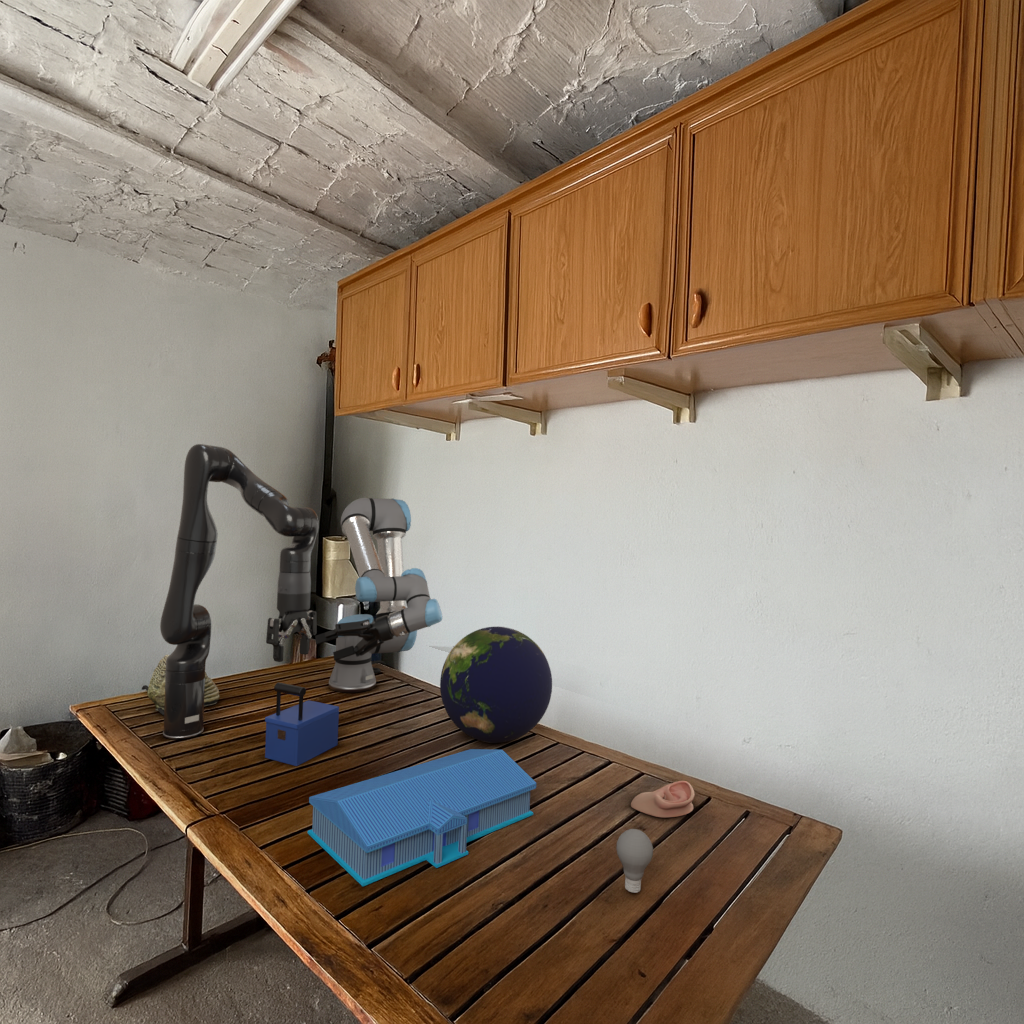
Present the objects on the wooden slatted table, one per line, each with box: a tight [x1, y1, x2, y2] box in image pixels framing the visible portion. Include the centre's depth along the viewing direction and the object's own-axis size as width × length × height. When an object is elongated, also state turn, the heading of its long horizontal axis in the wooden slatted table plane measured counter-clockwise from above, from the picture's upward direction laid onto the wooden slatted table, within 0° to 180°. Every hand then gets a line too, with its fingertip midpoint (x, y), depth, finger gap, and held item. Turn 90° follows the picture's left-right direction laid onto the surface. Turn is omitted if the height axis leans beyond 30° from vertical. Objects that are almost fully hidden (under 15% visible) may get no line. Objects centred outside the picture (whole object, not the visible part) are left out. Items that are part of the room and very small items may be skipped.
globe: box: [439, 625, 553, 744], centre depth 169 cm, size 30×30×30 cm
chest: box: [264, 710, 340, 767], centre depth 157 cm, size 15×10×9 cm
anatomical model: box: [630, 780, 695, 818], centre depth 136 cm, size 13×4×12 cm
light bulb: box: [615, 828, 654, 894], centre depth 106 cm, size 6×6×10 cm
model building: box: [307, 748, 538, 887], centre depth 123 cm, size 39×24×10 cm, turn 132°
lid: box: [264, 682, 340, 729], centre depth 156 cm, size 15×10×9 cm, turn 156°
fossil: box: [147, 654, 221, 711], centre depth 185 cm, size 9×18×15 cm, turn 132°
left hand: (291, 657), depth 152 cm, fingers open, 8 cm apart
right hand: (325, 648), depth 192 cm, fingers open, 13 cm apart
